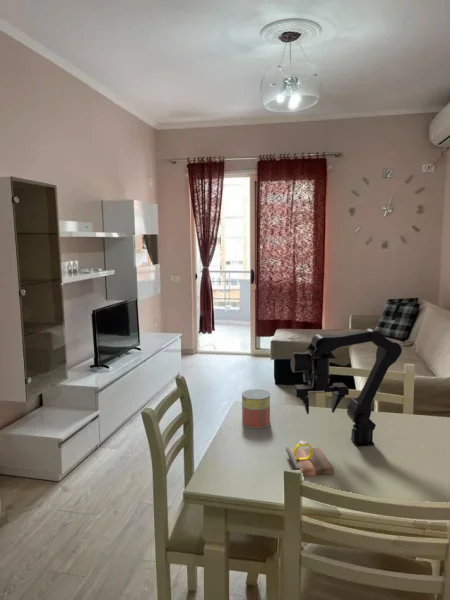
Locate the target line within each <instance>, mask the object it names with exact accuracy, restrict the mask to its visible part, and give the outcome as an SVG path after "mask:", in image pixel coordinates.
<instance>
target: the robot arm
mask: <svg viewBox="0 0 450 600" xmlns="http://www.w3.org/2000/svg"><path fill="white" fill-rule="evenodd" d="M310 342H311V343H309V345H308V346H307V348H306V349H305V350H304V351H305V352H304V351H303V352H297V351H296V352H292V355H291V359H290V370H291V371H292V373H303V374H302V381H303V382H304V383H306V382H307V384H308V385H310V387H307V386H306V385H305V384H295V385H293V387H292V393H293V395H294V396H295V397H296V398H298V399H299V400H301V401H302V404H303V406H304V409H305V412H306V415H309V414H310V398H309V394H316V393H317V394H319V393H331V397H332V398H331V399H332V400H331V413H335V411H336V409H337V408H338V406H339V403H341V401H342V400H343V399H344V398H346V396H348V395H350V394H349V391H350V389H349V387H348V385H346V384H345V383H343V382H333V383H332V385H331V386H330V379H331V375H330V360H331V359H333V360H334V359H336V357H337V356H335V355H334V354H333V353H332V352H334V351H336V350H337V349H339V348H343V347H349V346H353V345H359V344H364V343H370V342H371V343H372V344H374V345H375V346H376V347H377V348H376V351H375V352H376V353H375V362H374V364H373V366H372V368H371V371H370V373H369V374H368V377H367V378H366V381H365V383H364V385H363V387H362V390H361V392H360V393H359V395H358V396H357V398H355V399H354V398H352V397H351V398H350V401H349V403H348V405H347V406H346V409H347V410H346V413H347V416H348V418H349V419H351V421H352V422H353V424H352V429H351V437H350V440H351V441H352V442H353V443H354V444H355V445H356V447H368V446H376V445H375V443H374V441H373V440H374V439H373V438H374V435H373V434H374V430H375V429H376V426H377V425H376V423H375V422H374V421H372V420H371V415H372V405H373V404H372V403H373V400H374V399H375V397H376V394H377V392H378V390H380V387H381V384H382V382H383V380H384V377H385V376H386V374H387V371H388V369H389V368H390V367H391V366H392V365H394V364H395V363H396V362H397V361H398V359H399V357H401V355H402V351H403V349H402V347H401V345H400V344H399V343H398V342H397V341H393V340H392V339H389V338H386V337H385V336H384V335H382V334H381V333H380V332H379V331H378V330H376V329H373V328H371V327H370V328H367V329H362V330H357V331H351V332H346V333H341V334H340V333H339V334H329V333H317V334H315V335H313V337H312V338H311V341H310ZM310 371H311V374H310Z"/></svg>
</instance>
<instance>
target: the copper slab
mask: <svg viewBox="0 0 450 600" xmlns="http://www.w3.org/2000/svg"><path fill="white" fill-rule="evenodd" d="M311 448H312V450H313V453H312V456H311V457H310V458H309V459H308V460H298V459H297V458H296V457H295V455H294V449H290V448H289V447H288V446H286V447H285V452H286V454H287V455H288V457H289V459H290V461H291V462H292V465H293V467H294V469H295V471H296V470H300V471H302V473H303V476H302V477H309V476H310V477H313V476H325V475H334V474H335V473H334V472H335V470H334V469H335V468H334V466H333V465H332V463H331V461H330V460H329V459H328V458H327V456H326V454H325V453H324V452H323V450H322V449H321V448H320V447H311ZM309 453H310V447H309V448H298V449H297V450H296V456H297V457H299V458H302V457H307V456H308V455H309Z"/></svg>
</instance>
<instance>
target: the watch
mask: <svg viewBox="0 0 450 600" xmlns="http://www.w3.org/2000/svg"><path fill="white" fill-rule="evenodd" d="M307 446H308V447H309V448H310V453H309V455H308V456H307V457H302V458H299V457H297V456H296V450H297V449H299V447H307ZM312 448H313V447H312V446H311V444H310V443H309V442H308V441H307V440H299V441H298V443H297V444H296V445H295V446H294V448H293V450H294V455H295V457H296V458H297V459H298V460H308V459H309V458H310V457H311V456H312V453H313V450H312Z"/></svg>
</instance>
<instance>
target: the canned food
mask: <svg viewBox="0 0 450 600" xmlns="http://www.w3.org/2000/svg"><path fill="white" fill-rule="evenodd" d="M241 409H242V410H241V417H242V418H241V419H242V420H241V424H242V425H243V426H244V427H246V428H249V429H263V428H266V427H267V428H268V426H270V424H271V393H270V392H269V391H268V390H264V389H257V388H256V389H255V388H254V389H248V390H245V391H243V392H242V393H241Z"/></svg>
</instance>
